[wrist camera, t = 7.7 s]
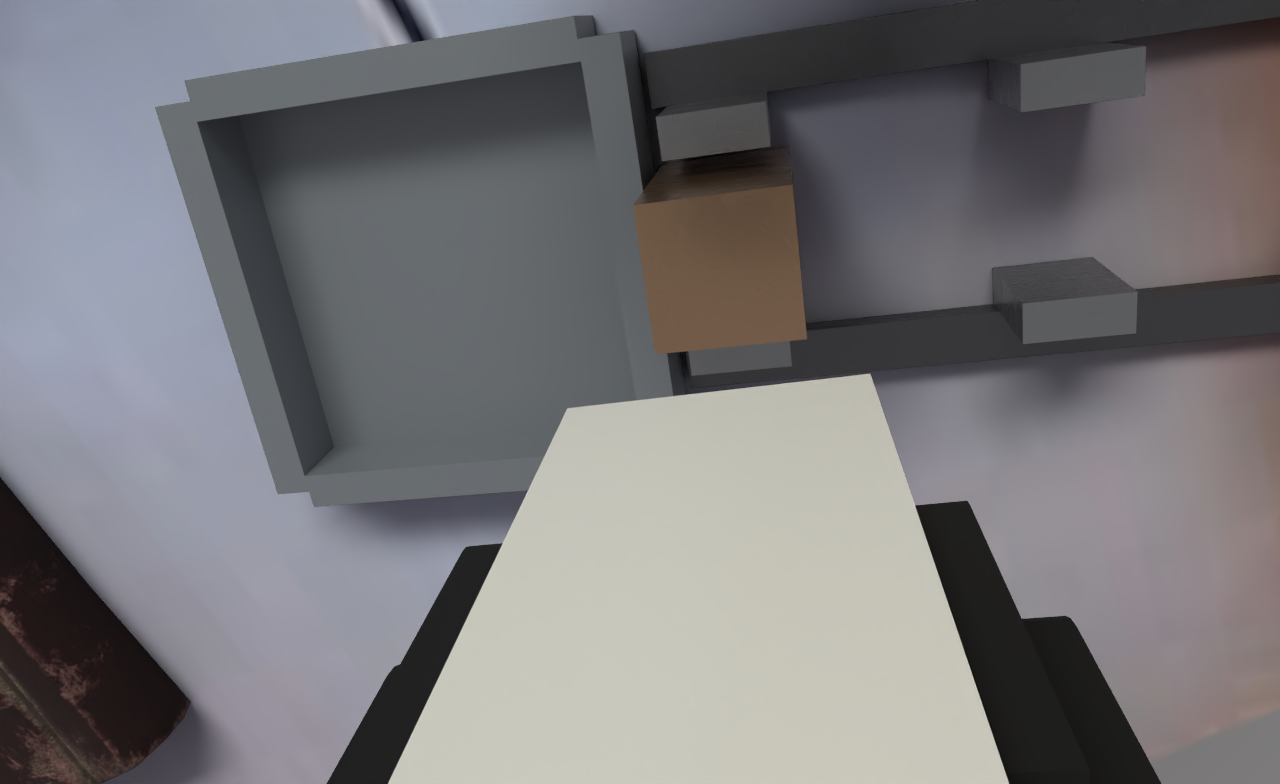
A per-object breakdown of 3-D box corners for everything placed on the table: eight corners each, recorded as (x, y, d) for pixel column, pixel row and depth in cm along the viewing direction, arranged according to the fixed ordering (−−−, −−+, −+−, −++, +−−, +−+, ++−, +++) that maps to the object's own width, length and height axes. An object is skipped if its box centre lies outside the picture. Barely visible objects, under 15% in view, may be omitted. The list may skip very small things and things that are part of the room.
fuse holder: (1499, -82, 25) (1748, -113, 19) (1439, 308, 29) (1630, 393, 23) (647, 52, 29) (611, 64, 23) (692, 379, 33) (672, 468, 27)
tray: (631, 9, 29) (616, 8, 26) (692, 440, 34) (685, 478, 31) (203, 80, 31) (148, 86, 29) (320, 471, 36) (282, 509, 34)
